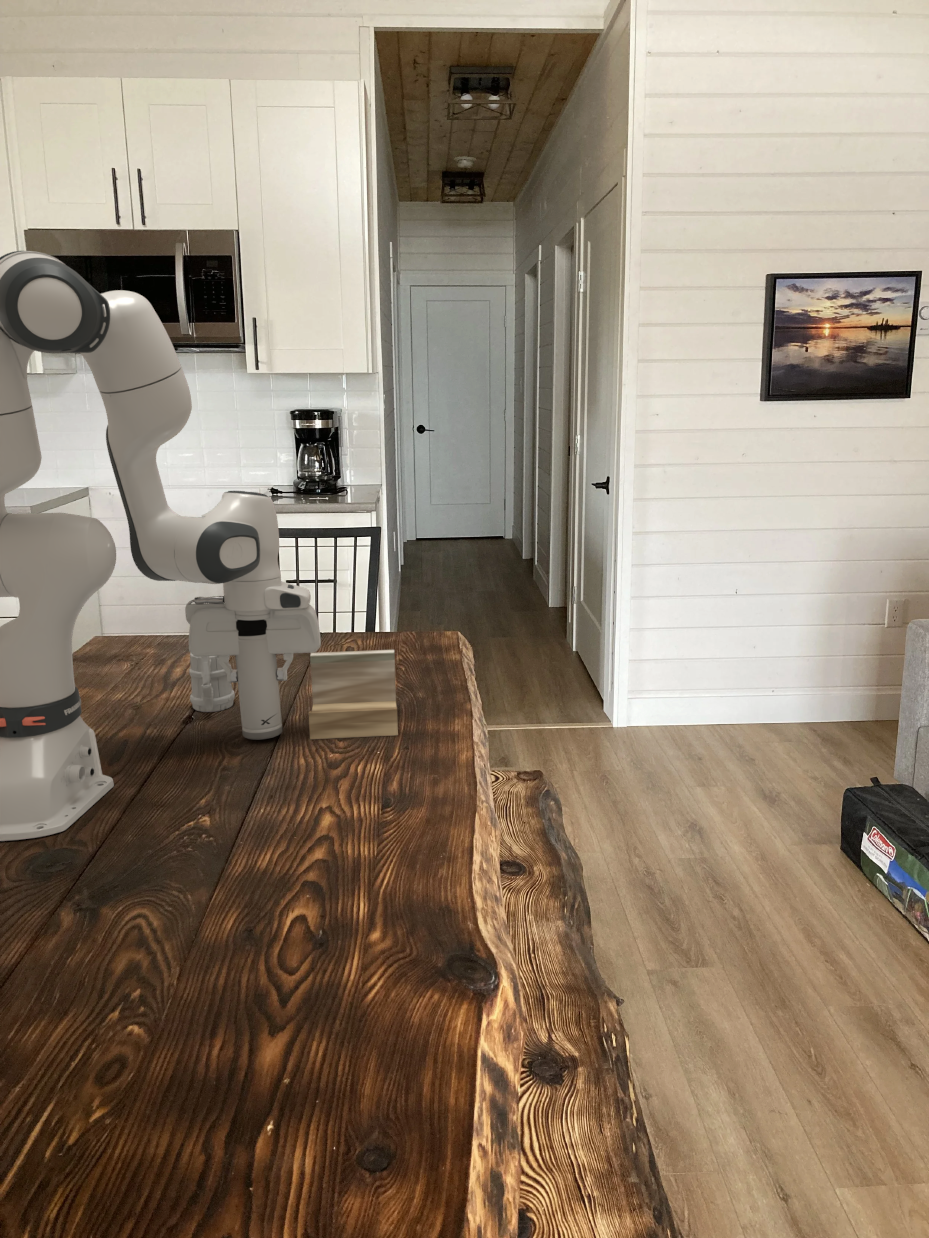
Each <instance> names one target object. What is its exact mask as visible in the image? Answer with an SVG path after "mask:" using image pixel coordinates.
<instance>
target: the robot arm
mask: <svg viewBox="0 0 929 1238" xmlns="http://www.w3.org/2000/svg"><path fill="white" fill-rule="evenodd" d="M34 352H39V353H44V354H79V353H80V355H81V356H82V357H83V358H84V360H85V362H86V363H87V365H88V367H89V368H90V371H91V373H92V375H93V378H94V381H95V384H96V386H97V389H98V392H99V394H100V398H101V399H102V402H103V405H104V409H105V413H106V418H107V426H106V429H105V441H106V447H107V453H108V457H109V461H110V465H111V468H112V472H113V475H114V478H115V482H116V484H117V487H118V492H119V494H120V500H121V502H122V505H123V509H124V513H125V516H126V519H127V523H128V531H129V532H128V533H129V546H130V553H131V557H132V559H133V562H134V565H135V567H137V569H138V570H139V572H140V573H141V574H142V575H143V576H145V577H146V578H148V579H150V580H153V581H157V582H165V581H166V582H167V581H168V582H171V581H172V582H176V581H178V582H186V583H187V582H188V583H195V584H196V583H197V584H199V583H200V584H209V585H221V584H222V589H223V595H217V596H216V595H215V596H214V595H213V596H207V597H206V596H195V597H194V599H191V600H189V601H188V602H187V603H186V605H185V607H184V608H185V609H184V611H185V613H184V614H185V620H186V623H188V625H189V629H188V630H189V631H188V651H189V652H190V653H191V654H192V655H193V656H195V657H204V656H219V663H220V665H221V666H222V667H223V669H224V670H225V672H226V673H227V681H228V683H231V684H232V683H233V684H234V683H238V679H237V668H236V669H233V668H232V665H231V664H230V662H229V663H228V660H230V656H231V657H232V656H235V655H239V644H238V641H239V639H238V632H239V631H238V630H237V629H236V621H237V620H263V619H264V620H266V622H267V628H266V629H267V630H266V634H267V637H266V639H267V642H268V651H269V653H270V654H276V655H280V654H282V656H283V660H284V661H285V662H284V664H283V666H282V667H277V675H278V676H277V681H278V682H282V681H284V682H285V681H286V682H287V681H288V669H289V667H290V666H291V663H292V662H293V660H294V654H309V653H310V654H311V653H317V651H319V649H320V648H321V645H322V644H321V643H322V641H321V640H322V639H321V632H320V631H321V630H320V624H319V619H318V616H317V612H316V609H315V608H314V607H313V606H312V605H311V601H312V597H311V592H310V590H309V589H308V588H307V587H304V586H299V585H296V584H292V583H289V582H285V581H282V573H281V568H280V565H279V561H278V557H279V552H280V546H281V545H280V532H279V523H278V515H277V511H276V508H275V504H274V502H273V499H272V498H271V497H269V496H268V495H267V494H265V493H261V492H256V491H245V490H228V491H225V492H223V493H222V495H221V499H220V501H219V502H218V503H217V504H216V505H215V506H214V507H213V508H212V509H210V510H209V511H208V512H206V513H204V514H202V515H201V516H197V517H196V516H186V515H185V516H182V515H180V514H178V513H176V512H175V511H174V510H173V509H172V508H171V507H170V506H169V504H168V502H167V498H166V494H165V491H164V486H163V483H162V479H161V475H160V472H159V469H158V463H157V453H158V450H159V448H160V447H161V446H163V444H165V443H167V442H169V441H170V440H172V439H174V437H175V438H176V436H177V435H179V433H180V432H182V430H183V429H184V428H185V426H186V425H187V423H188V421H189V419H190V416H191V413H192V409H193V405H192V396H191V391H190V390H191V389H190V387H189V383H188V381H187V378H186V376H185V372H184V370H183V367H182V366H181V365H182V364H181V361H180V359H179V357H178V355H177V352H176V350H175V347H174V345H173V343H172V340H171V338H170V336H169V334H168V332H167V330H166V328H165V326H164V325H163V322H162V321H161V319H160V317H159V315H158V313H157V312H156V311H155V309H154V307H153V305H152V303H151V302H150V301H149V300H148V299H147V298H146V297H145V296H143V295H141V294H140V293H138V292H135V291H130V290H123V289H120V290H118V289H117V290H116V289H115V290H109V291H105V292H101V293H100V292H99V290H96V289H95V288H94V287H93V286H92V285H91V284H90V283H89V282H88V281H87V280H85V278H83V276H81V275H80V274H79V273H78V271H76V270H74V269H73V268H71V267H70V266H68V265H66V263H64V262H63V261H61V260H59V258H57V257H55V256H53V255H50V254H48V253H45V252H39V251H32V250H16V251H12V252H8V253H5V254H4V255H1V256H0V598H17V599H18V603H19V612H18V614H17V615H18V616H17V617H16V618H13V619H12V620H10V621H8V622H6V623H4V624H2V625H0V842H5V841H6V842H7V841H19V840H26V839H35V838H42V837H46V836H50V835H54V834H58V833H61V832H64V831H66V830H67V829H69V827H70V826H72V825H73V824H74V823H75V822H77V821H78V819H79V818H80V817H82V816H83V815H84V814H85V813H86V812H88V811H89V809H90V808H92V807H93V805H95V804H97V802H98V801H99V800H100V799H101V798H103V796H105V795H106V794H107V793H108V792H109V791H110V790H111V789H112V788H114V786H115V784H114V780H113V778H112V777H111V776H109V775H105V774H103V771H102V770H103V769H102V765H101V759H100V755H99V749H98V743H97V738H96V733H95V730H94V729H93V728H91V727H90V726H89V725H87V723H86V722H85V721H84V720H83V718H82V717H81V715H82V700H81V696H80V692H79V688H78V687H77V686H76V683H75V673H74V664H73V662H74V661H73V634H74V629H75V625H76V622H77V619H78V616H79V615H80V612H81V611H82V609H83V607H84V606H85V604H86V603H87V602H88V601H89V599H90V598H91V597H92V596H93V595H94V594H96V593H97V592H98V591H99V590H100V589H102V588H103V587H104V586H105V585H106V584H107V582H108V581H109V580H110V578H111V576H112V575H113V573H114V570H115V566H116V563H117V562H116V561H117V547H116V544H115V541H114V537H113V535H112V534H111V532H110V531H109V529H108V528H107V527H106V525H104V523H103V522H101V520H99V518H95V517H92V516H85V515H80V514H79V515H78V514H73V513H68V512H67V513H66V512H36V513H35V512H34V513H33V512H32V513H30V512H28V513H11V512H8V511H7V509H6V506H5V498H6V497H5V496H6V494H9V493H10V492H13V491H14V490H16V489H18V488H20V487H22V486H23V485H25V484H26V483H28V482H29V481H31V480H32V479H33V478H34V477H35V475H36V474H37V473H38V472H39V469H40V467H41V464H42V452H41V446H40V441H39V435H38V430H37V424H36V418H35V414H34V408H33V402H32V397H31V393H30V389H29V383H28V365H29V360H30V358H31V356H32V355H33V353H34ZM229 664H230V665H231V666H230V665H229Z"/></svg>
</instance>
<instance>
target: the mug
mask: <svg viewBox="0 0 929 1238" xmlns="http://www.w3.org/2000/svg"><path fill="white" fill-rule="evenodd" d="M189 659H190V661H189V662H190V663H189V664H190V667H189V669H188V671H189V675H190V682H191V693H190V695H189V701H190V703H191V704H192V705H191V706H192V709H193V710H195V711H198V712H202V713H213V712H214V713H215V712H220V711H224V710H227V709H229V708H231V707H233V705H234V700H235V698H236V697H235V696H236V695H235V691H234V689H233V687H232V683H228V681H227V673H226V672H225V670H224V669H223V667H222V666H221V665H220V663H219V656H204V657H195V656H193V655H192V654H191V653H190V654H189ZM229 660H230V659H229ZM229 660H228V663H229V665H230V666H231V667H232V665H231V664H230V661H229Z"/></svg>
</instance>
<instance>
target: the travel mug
mask: <svg viewBox="0 0 929 1238" xmlns="http://www.w3.org/2000/svg"><path fill="white" fill-rule="evenodd" d="M266 628H267V622H266V620H264V619H263V620H237V621H236V629H237V630H238V631H239V632H238V639H239V641H238V644H239V655H234V656H235V658H234V659H235V665H236V669H237V679H238V681H237V686H238V687H237V688H238V699H239V708H240V718H241V720H240V721H241V728H242V731H241V732H242V737H244V738H245V739H247V740H254V741H256V740H260V741H261V740H267V739H272V738H275V737H277V736H279V735H281V734H282V732H283V724H282V708H281V698H280V686H279V681H277V676H278V675H277V668H278V664H277V663H278V662H277V661H278V660H277V654H270V653H269V651H268V642H267V639H266V637H267V634H266V630H267V629H266Z"/></svg>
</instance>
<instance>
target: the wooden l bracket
mask: <svg viewBox="0 0 929 1238" xmlns="http://www.w3.org/2000/svg"><path fill="white" fill-rule="evenodd" d="M395 659H396V657H395V649H379V650H378V649H377V650H375V649H374V650H373V649H372V650H355V651H354V650H352V651H327V652H326V651H323V652H314V653H310V656H309V661H310V663H309V664H310V674H311V676H310V677H311V691H312V692H311V693H312V694H311V695H312V709H311V710H309V711H308V725H309V739H310V740H322V739H323V740H324V739H343V738H344V739H346V738H363V737H384V736H385V737H387V736H390V737H391V736H399V731H398V729H399V728H398V726H399V725H398V722H399V721H398V706H397V696H396V695H397V693H396V692H397V690H396V661H395Z"/></svg>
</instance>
